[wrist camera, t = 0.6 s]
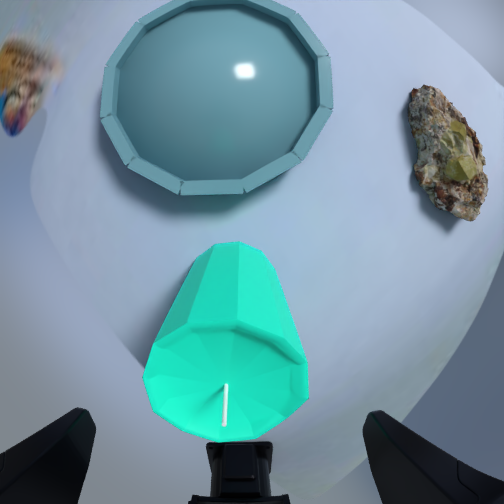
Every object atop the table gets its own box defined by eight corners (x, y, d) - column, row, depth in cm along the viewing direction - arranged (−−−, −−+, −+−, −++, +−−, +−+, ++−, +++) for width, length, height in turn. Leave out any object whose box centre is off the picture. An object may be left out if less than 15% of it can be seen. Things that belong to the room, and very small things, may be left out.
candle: (210, 334, 20) (187, 478, 8) (173, 260, 19) (93, 374, 7) (289, 307, 20) (336, 445, 8) (259, 227, 18) (289, 316, 7)
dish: (325, 194, 18) (335, 197, 16) (112, 199, 17) (98, 202, 15) (317, 9, 14) (324, -5, 12) (124, 18, 14) (114, 6, 12)
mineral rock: (508, 190, 16) (476, 241, 15) (472, 192, 20) (432, 238, 19) (459, 68, 14) (413, 86, 12) (424, 84, 18) (372, 107, 17)
